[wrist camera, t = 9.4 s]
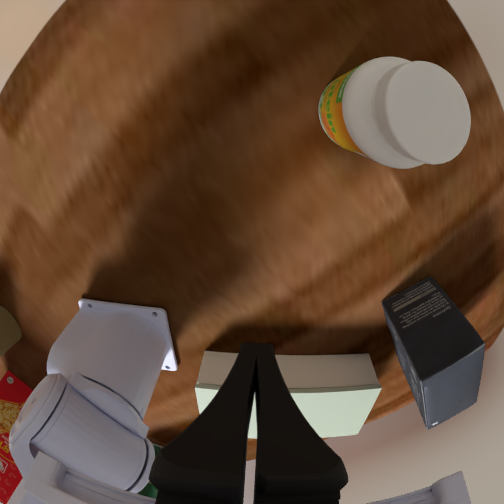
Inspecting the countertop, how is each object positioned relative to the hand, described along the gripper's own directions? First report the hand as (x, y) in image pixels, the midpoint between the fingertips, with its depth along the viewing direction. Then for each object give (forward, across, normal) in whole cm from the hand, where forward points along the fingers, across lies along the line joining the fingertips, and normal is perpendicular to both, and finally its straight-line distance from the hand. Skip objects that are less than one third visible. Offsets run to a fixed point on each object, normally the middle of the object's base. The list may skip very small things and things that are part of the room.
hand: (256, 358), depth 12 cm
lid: (+5, -3, +14) cm, 15 cm away
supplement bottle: (+10, -6, -11) cm, 16 cm away
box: (+10, -15, +6) cm, 19 cm away
